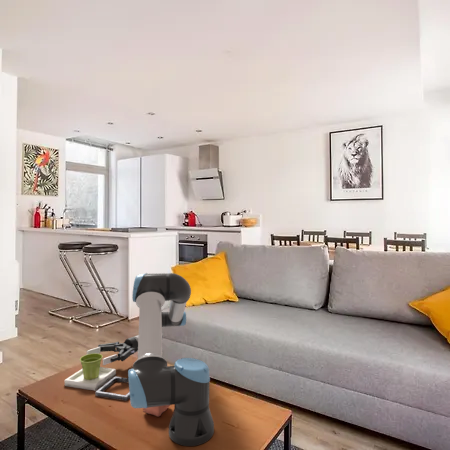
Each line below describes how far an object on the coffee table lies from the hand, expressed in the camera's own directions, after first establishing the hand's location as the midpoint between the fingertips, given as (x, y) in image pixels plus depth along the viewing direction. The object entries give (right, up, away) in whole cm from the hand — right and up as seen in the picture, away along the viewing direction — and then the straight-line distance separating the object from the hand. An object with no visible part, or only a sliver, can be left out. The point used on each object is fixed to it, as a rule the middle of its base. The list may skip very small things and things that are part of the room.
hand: (94, 357), depth 146 cm
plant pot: (-1, -8, -1) cm, 9 cm away
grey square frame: (+15, -9, -10) cm, 20 cm away
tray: (-1, -9, -2) cm, 9 cm away
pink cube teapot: (+32, -10, -24) cm, 42 cm away
